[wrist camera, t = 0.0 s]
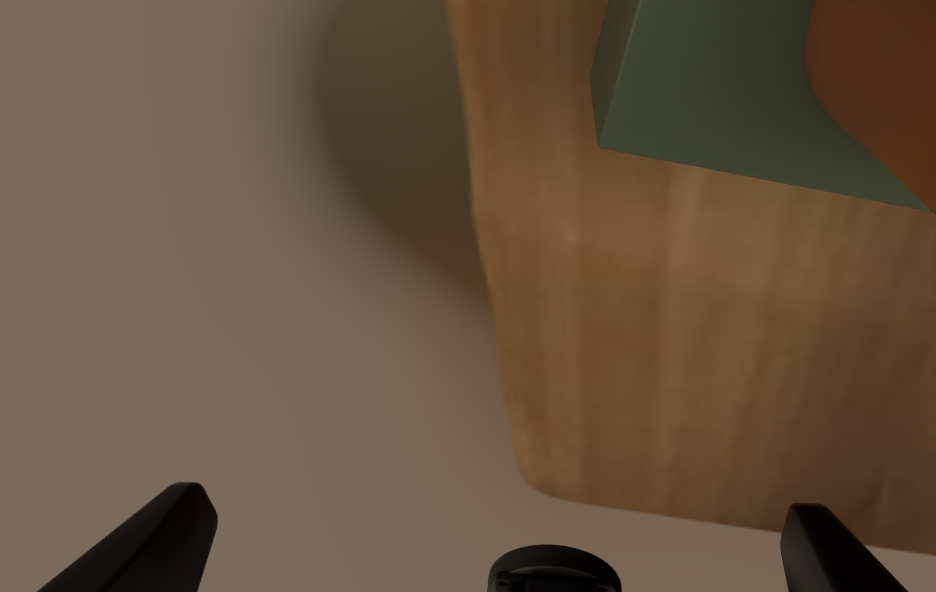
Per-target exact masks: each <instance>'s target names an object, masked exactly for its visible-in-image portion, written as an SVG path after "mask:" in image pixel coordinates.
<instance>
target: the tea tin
mask: <svg viewBox="0 0 936 592" xmlns="http://www.w3.org/2000/svg"><path fill="white" fill-rule="evenodd" d="M806 66H807V71H808V77H809V80H810V83H811V86H812V89H813V92H814V94H815V96H816V97H817V99H818V101H819V103H820V104H821V106H822V107H823V108H824V109H825V111H826V112H827V113H828V114H829V116H831V117H832V118H833V119H834V120H835V121H836V122H837V123H838V124H839V125H840V126H841V127H842V128H843V129H844V130H845V131H847V132H848V133H849V134H850V135H851V136H852V137H853V138H854V139H855V140H856V141H857V142H858V143H859V144H860V145H861V146H863V147H864V148H865V149H866V150H867V151H868V152H869V153H870V154H871V155H872V156H873V157H874V158H875V159H876V160H878V161H879V162H880V163H881V164H882V165H883V166H884V167H885V168H886V169H887V170H888V171H889V172H890V173H891V174H892V175H894V176H895V177H896V178H897V179H898V180H899V181H900V182H901V183H902V184H903V185H904V186H905V187H906V188H907V189H908V190H910V191H911V192H912V193H913V194H914V195H915V196H916V197H917V198H918V199H919V200H920V201H921V202H922V203H923V204H924V205H926V206H927V207H928V208H929V209H930V210H931V211H932V212H933V213H934V214H935V215H936V0H816V2H815V4H814V7H813V10H812V13H811V17H810V21H809V25H808V30H807V38H806Z"/></svg>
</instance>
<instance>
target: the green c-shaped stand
mask: <svg viewBox="0 0 936 592" xmlns="http://www.w3.org/2000/svg"><path fill="white" fill-rule="evenodd" d="M815 2H816V0H609V4H608V8H607V12H606V16H605V20H604V24H603V27H602V31H601V35H600V39H599V43H598V47H597V51H596V54H595V58H594V62H593V66H592V70H591V74H590V84H591V92H592V101H593V109H594V118H595V126H596V135H597V143H598V147H599V148H604V149H609V150H614V151H619V152H624V153H630V154H635V155H640V156H645V157H650V158H656V159H661V160H666V161H671V162H676V163H682V164H687V165H692V166H697V167H702V168H708V169H713V170H718V171H723V172H728V173H733V174H739V175H744V176H749V177H754V178H759V179H765V180H770V181H775V182H780V183H785V184H791V185H796V186H801V187H806V188H811V189H817V190H822V191H827V192H832V193H837V194H842V195H848V196H853V197H858V198H863V199H868V200H874V201H879V202H884V203H889V204H894V205H900V206H905V207H910V208H915V209H920V210H926V211H931V210H930V209H929V208H928V207H927V206H926V205H924V204H923V203H922V202H921V201H920V200H919V199H918V198H917V197H916V196H915V195H914V194H913V193H912V192H911V191H910V190H908V189H907V188H906V187H905V186H904V185H903V184H902V183H901V182H900V181H899V180H898V179H897V178H896V177H895V176H894V175H892V174H891V173H890V172H889V171H888V170H887V169H886V168H885V167H884V166H883V165H882V164H881V163H880V162H879V161H878V160H876V159H875V158H874V157H873V156H872V155H871V154H870V153H869V152H868V151H867V150H866V149H865V148H864V147H863V146H861V145H860V144H859V143H858V142H857V141H856V140H855V139H854V138H853V137H852V136H851V135H850V134H849V133H848V132H847V131H845V130H844V129H843V128H842V127H841V126H840V125H839V124H838V123H837V122H836V121H835V120H834V119H833V118H832V117H831V116H829V114H828V113H827V112H826V111H825V109H824V108H823V107H822V106H821V104H820V103H819V101H818V99H817V97H816V96H815V94H814V92H813V89H812V86H811V83H810V80H809V77H808V71H807V66H806V38H807V30H808V25H809V21H810V17H811V13H812V10H813V7H814V4H815ZM931 212H932V211H931Z"/></svg>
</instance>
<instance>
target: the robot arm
mask: <svg viewBox="0 0 936 592" xmlns="http://www.w3.org/2000/svg"><path fill="white" fill-rule="evenodd" d="M217 524H218V517H217V513H216V510H215V508H214V507H213V505H212V503H211V501H210V499H209V497H208V495H207V493H206V491H205V490H204V488H203V486H202V485H201V484H199V483H195V482H194V483H193V482H177V483H174V484H172V485H171V486H169V487H167V488H166V489H165V490H164V491H163V492H161V493H160V494H159V495H157V496H156V497H155V498H154V499H152V500H151V501H150V502H149V503H147V504H146V505H145V506H144V507H143V508H141V509H140V510H139V511H137V512H136V513H135V514H134V515H132V516H131V517H130V518H129V519H127V520H126V521H125V522H123V523H122V524H121V525H120V526H118V527H117V528H116V529H115V530H114V531H112V532H111V533H110V534H108V535H107V536H106V537H105V538H103V539H102V540H101V541H100V542H98V543H97V544H96V545H95V546H93V547H92V548H91V549H90V550H89V551H87V552H86V553H85V554H83V555H82V556H81V557H80V558H78V559H77V560H76V561H75V562H73V563H72V564H71V565H70V566H68V567H67V568H66V569H64V570H63V571H62V572H61V573H60V574H58V575H57V576H56V577H54V578H53V579H52V580H51V581H50V582H48V583H47V584H46V585H44V586H43V587H42V588H41V589H39V590H38V591H37V592H197V591H198V588H199V585H200V582H201V578H202V575H203V572H204V568H205V565H206V562H207V559H208V556H209V552H210V549H211V545H212V543H213V539H214V536H215V533H216V529H217ZM781 555H782V560H783V565H784V570H785V575H786V580H787V585H788V590H789V592H908V591H907V590H906V589H905V588H904V587H903V586H902V585H901V584H900V583H899V581H898V580H896V578H895V577H894V576H893V575H892V574H891V573H890V572H889V571H888V570H887V569H886V568H885V567H884V566H883V565H882V564H881V563H880V562H879V561H878V560H877V559H876V558H875V557H874V555H872V553H871V552H870V551H869V550H868V549H867V548H866V547H865V546H864V545H863V544H862V543H861V542H860V541H859V540H858V539H857V538H856V537H855V536H854V535H853V533H852V532H851V531H850V530H849V529H848V528H847V527H846V526H845V525H844V524H843V523H842V522H841V521H840V520H839V519H838V518H837V517H836V516H835V515H834V514H833V513H832V512H831V511H830V510H829V509H828V508H827V507H826V506H824V505H822V504H818V503H793V504H792V505H791V506H790V508H789V510H788V514H787V517H786V521H785V525H784V528H783V532H782V536H781ZM495 588H496V592H611V587H610V582H609V581H608V580H607V579H604V578H591V577H572V576H554V575H536V574H518V573H498V574H497V575H496V578H495Z"/></svg>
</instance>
